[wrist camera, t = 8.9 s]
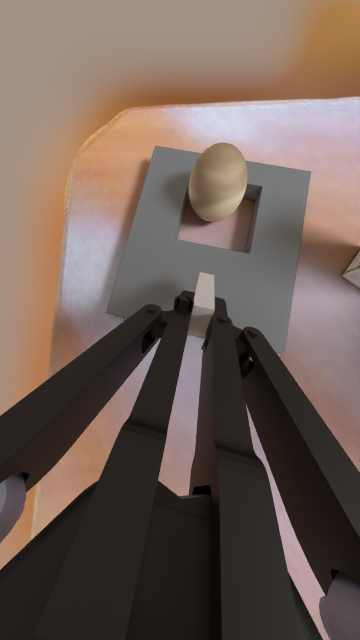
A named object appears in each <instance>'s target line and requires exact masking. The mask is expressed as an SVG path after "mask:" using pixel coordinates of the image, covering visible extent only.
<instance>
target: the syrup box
mask: <svg viewBox="0 0 360 640" xmlns="http://www.w3.org/2000/svg"><path fill="white" fill-rule="evenodd" d="M342 276H343V277H344V278H346V279H347V280H348V281H350V282H351V283H353V284H354V285H356V286H357V287H359V288H360V250H359V251H358V253H357V254H356V256H355V257H354V259H353V260H352V261H351V263H350V264H349V266H348V267H347V269H346V270H345V271H344V273H343V274H342Z"/></svg>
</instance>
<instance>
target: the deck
mask: <svg viewBox="0 0 360 640" xmlns="http://www.w3.org/2000/svg"><path fill="white" fill-rule="evenodd" d="M201 154H202V153H196V152H190V151H184V150H178V149H172V148H166V147H160V146H155V148H154V151H153V155H152V158H151V162H150V165H149V168H148V172H147V175H146V179H145V182H144V185H143V189H142V192H141V196H140V199H139V203H138V206H137V209H136V213H135V216H134V220H133V223H132V226H131V230H130V233H129V237H128V240H127V244H126V247H125V250H124V254H123V257H122V261H121V264H120V268H119V271H118V274H117V278H116V281H115V285H114V288H113V291H112V295H111V298H110V302H109V305H108V309H107V312H106V313H108V314H111V315H115V316H119V317H123V318H127V319H128V318H129V317H130V316H132V315H133V314H134V313H136V312H137V311H138V310H140V309H141V308H142V307H144V306H145V305H148V304H155V305H158V306H160V307H161V309H162V311H169V310H173V308H174V301H175V298H176V296H179V295H180V294H181V292H182V291H184V290H186V291H190V292H195V290H196V286H197V282H198V278H199V274H200V272H202V273H207V274H211V275H214V294H215V297H218V298H223V299H224V300H225V302H226V307H227V314H228V317H229V318H230V319H231V320H232V324H233V325H234V326H235V327H237V328H240V329H242V330H243V329H244V328H245V327H248V326H250V327H254V328H256V329H258V330H259V331H260V332H261V333H262V334H263V335H264V336H265V338H266V339H267V341H268V342H269V344H270V345H271V346H272V348H273V349H274V351H275V352H276V353H280V354H284V350H285V344H286V337H287V330H288V324H289V317H290V310H291V303H292V297H293V290H294V283H295V276H296V270H297V263H298V256H299V250H300V243H301V236H302V229H303V223H304V216H305V209H306V202H307V196H308V189H309V182H310V175H311V172H310V171H304V170H298V169H292V168H286V167H280V166H274V165H268V164H262V163H256V162H250V161H245V162H246V165H247V173H248V177H247V186H246V190H245V193H244V196H243V198H245V199H251V200H255V204H254V209H253V215H252V220H251V225H250V230H249V235H248V240H247V246H246V251H245V253H243V252H238V251H233V250H227V249H222V248H217V247H212V246H207V245H202V244H197V243H192V242H187V241H182V240H177V238H178V234H179V230H180V226H181V222H182V218H183V214H184V210H185V206H186V202H187V198H188V194H189V189H188V188H189V179H190V175H191V171H192V169H193V166H194V164H195V162H196V161H197V159H198V158H199V156H200V155H201ZM205 337H206V334H205Z"/></svg>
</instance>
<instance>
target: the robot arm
mask: <svg viewBox="0 0 360 640" xmlns="http://www.w3.org/2000/svg"><path fill="white" fill-rule="evenodd" d="M187 334H190V335H194V336H198V337H202V338H204V337H205V334H206V338H205V340H204V343H203V346H202V348H201V349H202V350H203V357H202V370H201V383H200V396H199V408H198V421H197V434H196V447H195V455H194V460H193V463H192V469H191V477H190V488H189V495H187V496H177V495H176V494H175V493H173V492H172V491H171V490H170V489H168V488H167V487H166V486H164V485H163V484H162V483H161V482H159V481H158V477H159V472H160V467H161V462H162V457H163V452H164V447H165V442H166V437H167V430H168V424H169V420H170V415H171V410H172V405H173V400H174V396H175V391H176V386H177V381H178V376H179V372H180V367H181V362H182V357H183V352H184V347H185V343H186V338H187ZM159 338H161V340H160V343H159V345H158V348H157V350H156V353H155V355H154V358H153V360H152V362H151V365H150V367H149V370H148V372H147V375H146V377H145V380H144V382H143V385H142V387H141V390H140V392H139V395H138V397H137V400H136V402H135V404H134V407H133V409H132V412H131V414H130V416H129V418H128V419H127V420H126V422H125V423H124V424H123V426H122V428H121V430H120V432H119V434H118V436H117V439H116V441H115V443H114V446H113V448H112V450H111V453H110V455H109V457H108V460H107V462H106V465H105V467H104V469H103V472H102V474H101V476H100V479H99V480H98V481H97V482H95V483H93V484H92V485H91V486H89V487H88V488H87V489H85V490H84V491H83V492H82V493H81V494H80V495H79V496H78V497H76V498H75V499H74V500H73V501H72V502H71V503H70V504H69V505H68V506H67V507H66V508H65V509H64V510H63V511H62V512H61V513H60V514H59V515H58V516H56V517H55V518H54V519H53V520H52V521H51V522H50V523H49V524H48V525H47V526H46V527H45V528H44V529H43V530H42V531H41V532H40V533H39V534H38V535H37V536H35V537H34V538H33V539H32V540H31V541H30V542H29V543H28V544H27V545H26V546H25V547H24V548H23V549H22V550H21V551H20V552H19V553H18V554H17V555H16V556H14V557H13V558H12V559H11V560H10V561H9V562H8V563H7V564H6V565H5V566H4V567H3V568H2V569H1V570H0V640H323V639H322V637H321V635H320V633H319V631H318V629H317V627H316V625H315V623H314V621H313V619H312V617H311V615H310V614H309V612H308V610H307V608H306V606H305V604H304V602H303V600H302V598H301V596H300V594H299V592H298V590H297V588H296V586H295V584H294V582H293V580H292V579H291V577H290V575H289V573H288V570H287V565H286V561H285V556H284V551H283V546H282V541H281V536H280V531H279V526H278V521H277V517H276V512H275V507H274V502H273V497H272V492H271V487H270V482H269V479H268V475H267V471H266V469H265V467H264V465H263V463H262V461H261V460H260V459H259V458H258V457H257V455H256V454H255V452H254V449H253V445H252V439H251V433H250V427H249V421H248V415H247V409H246V405H247V407H248V410H249V413H250V415H251V418H252V421H253V423H254V426H255V429H256V431H257V434H258V437H259V439H260V442H261V445H262V447H263V450H264V453H265V455H266V458H267V461H268V463H269V466H270V469H271V472H272V474H273V477H274V480H275V482H276V485H277V488H278V490H279V493H280V496H281V498H282V501H283V504H284V506H285V509H286V512H287V514H288V517H289V519H290V522H291V524H292V527H293V529H294V532H295V534H296V537H297V539H298V541H299V543H300V545H301V548H302V550H303V552H304V554H305V556H306V558H307V560H308V563H309V565H310V567H311V569H312V571H313V573H314V575H315V577H316V578H317V580H318V582H319V584H320V586H321V588H322V590H323V592H324V594H325V596H323V597H321V598H320V602H319V610H320V616H321V619H322V622H323V626H324V628H325V630H326V632H327V634H328V636H329V638H330V640H360V472H359V471H358V470H357V468H356V467H355V465H354V464H353V462H352V461H351V460H350V458H349V457H348V455H347V454H346V452H345V451H344V450H343V448H342V447H341V445H340V444H339V442H338V441H337V440H336V438H335V437H334V435H333V434H332V432H331V431H330V429H329V428H328V427H327V425H326V424H325V422H324V421H323V419H322V418H321V417H320V415H319V414H318V412H317V411H316V409H315V408H314V407H313V405H312V404H311V402H310V401H309V399H308V398H307V397H306V395H305V394H304V392H303V391H302V389H301V388H300V387H299V385H298V384H297V382H296V381H295V379H294V378H293V376H292V375H291V374H290V372H289V371H288V369H287V368H286V366H285V365H284V364H283V362H282V361H281V359H280V358H279V356H278V355H277V354H276V352H275V351H274V349H273V348H272V346H271V345H270V344H269V342H268V341H267V339H266V338H265V336H264V335H263V334H262V333H261V332H260V331H259V330H258V329H256V328H254V327H250V326H248V327H245V328H244V329H243V330H242V329H240V328H237V327H235V326H234V325H233V324H232V320H231V319H230V318H229V317H228V314H227V307H226V302H225V300H224V299H223V298H218V297H215V294H214V275H211V274H207V273H202V272H200V274H199V278H198V282H197V286H196V290H195V292H190V291H186V290H184V291H182V292H181V294H180V295H179V296H176V298H175V301H174V308H173V310H169V311H162V309H161V307H160V306H158V305H155V304H148V305H145V306H144V307H142V308H141V309H140V310H138V311H137V312H136V313H134V314H133V315H132V316H130V317H129V318H128V319H127V320H125V321H124V322H123V323H121V324H120V325H119V326H117V327H116V328H115V329H113V330H112V331H111V332H109V333H108V334H107V335H106V336H104V337H103V338H102V339H100V340H99V341H98V342H96V343H95V344H94V345H92V346H91V347H90V348H89V349H87V350H86V351H85V352H83V353H82V354H81V355H79V356H78V357H77V358H75V359H74V360H73V361H72V362H70V363H69V364H68V365H66V366H65V367H64V368H62V369H61V370H60V371H58V372H57V373H56V374H55V375H53V376H52V377H51V378H49V379H48V380H47V381H45V382H44V383H43V384H42V385H40V386H39V387H38V388H36V389H35V390H34V391H32V392H31V393H30V394H29V395H27V396H26V397H25V398H23V399H22V400H21V401H19V402H18V403H17V404H16V405H14V406H13V407H11V408H10V409H9V410H8V411H6V412H5V413H4V414H2V415H1V416H0V543H1V542H2V540H3V539H4V538H5V537H6V536H7V534H8V533H9V532H10V531H11V529H12V528H13V526H14V525H15V523H16V522H17V520H18V519H19V518H20V516H21V514H22V512H23V509H24V504H25V500H26V492H27V491H28V490H30V489H31V488H32V487H33V486H34V485H35V484H37V483H38V482H39V481H40V480H41V479H42V478H43V477H44V476H45V475H46V474H47V473H48V472H49V471H50V470H51V469H52V468H53V467H54V466H55V465H56V464H57V462H58V461H59V460H60V459H61V458H62V457H63V456H64V455H65V453H66V452H67V451H68V450H69V449H70V448H71V446H72V445H73V444H74V443H75V441H76V440H77V439H78V438H79V437H80V435H81V434H82V433H83V432H84V430H85V429H86V428H87V427H88V426H89V424H90V423H91V422H92V421H93V420H94V418H95V417H96V416H97V415H98V413H99V412H100V411H101V410H102V409H103V407H104V406H105V405H106V404H107V402H108V401H109V400H110V399H111V398H112V396H113V395H114V394H115V393H116V391H117V390H118V389H119V388H120V387H121V385H122V384H123V383H124V382H125V380H126V379H127V378H128V377H129V376H130V374H131V373H132V372H133V371H134V369H135V368H136V367H137V366H138V365H139V363H140V362H141V361H142V360H143V358H144V357H145V356H146V355H147V354H148V352H149V351H150V350H151V349H152V347H153V346H154V345H155V344H156V343H157V341H158V340H159ZM250 357H251V359H252V361H251V359H250ZM245 402H246V403H245Z"/></svg>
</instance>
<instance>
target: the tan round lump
mask: <svg viewBox="0 0 360 640" xmlns="http://www.w3.org/2000/svg"><path fill="white" fill-rule="evenodd" d="M247 177H248V173H247V165H246V162H245V159H244V157H243V155H242V153H241V152H240V151H239V150H238V148H236V147H235V146H233V145H232V144H228V143H218V144H214V145H212V146H211V147H209V148H207V149H206V150H205V151H204V152H203V153H202V154H201V155H200V156H199V158H198V159H197V161H196V162H195V164H194V166H193V169H192V171H191V175H190V179H189V188H188V189H189V199H190V203H191V206H192V208H193V210H194V211H195V213H196V214H197V215H198V216H199V217H200V218H202V219H203V220H206V221H210V222H216V221H220V220H223V219H225V218H227V217H228V216H229V215H231V214H232V213H233V212H234V211H235V209H236V208H237V207H238V205H239V204H240V202H241V200H242V198H243V196H244V193H245V190H246V186H247Z"/></svg>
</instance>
